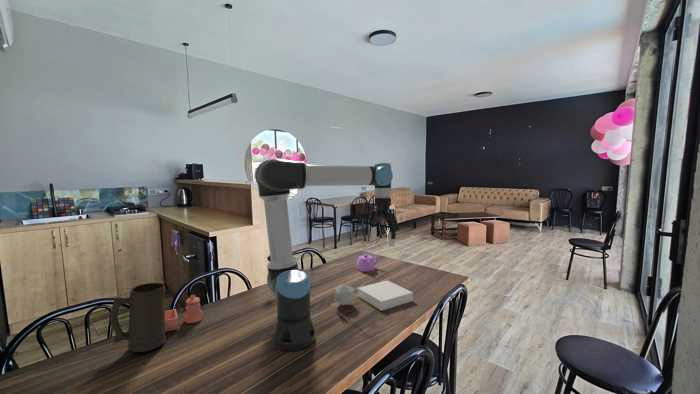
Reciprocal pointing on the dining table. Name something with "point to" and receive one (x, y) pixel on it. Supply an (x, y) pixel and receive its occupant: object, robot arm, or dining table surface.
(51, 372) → the dining table surface
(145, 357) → the dining table surface
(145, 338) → the beer stein
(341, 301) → the die
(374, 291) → the plinth
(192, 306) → the pottery
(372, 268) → the teapot
